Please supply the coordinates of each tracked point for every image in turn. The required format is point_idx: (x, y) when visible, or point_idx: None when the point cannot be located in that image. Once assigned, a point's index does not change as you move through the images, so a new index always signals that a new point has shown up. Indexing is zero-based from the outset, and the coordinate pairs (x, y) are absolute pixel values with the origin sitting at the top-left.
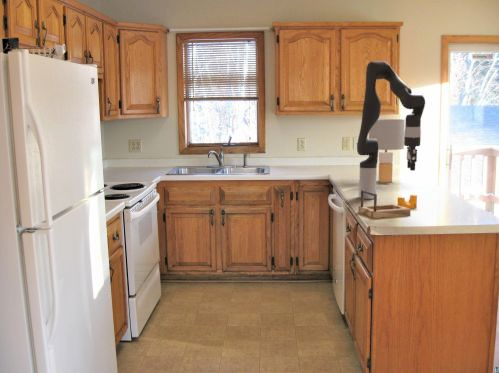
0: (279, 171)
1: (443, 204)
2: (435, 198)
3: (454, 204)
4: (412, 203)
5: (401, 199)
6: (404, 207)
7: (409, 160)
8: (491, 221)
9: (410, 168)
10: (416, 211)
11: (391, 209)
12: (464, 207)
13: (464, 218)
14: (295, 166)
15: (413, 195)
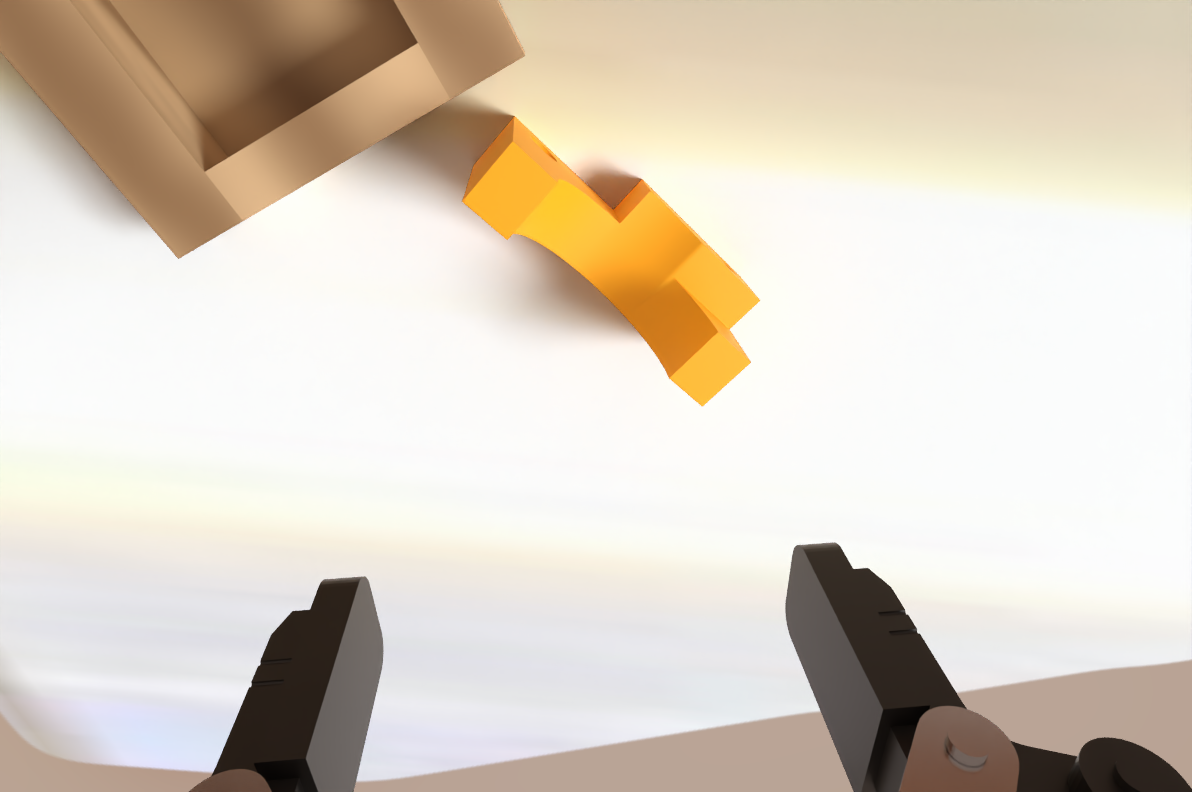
0: None
1: None
2: (1113, 536)
3: None
4: (629, 317)
5: (470, 189)
6: (263, 194)
7: (886, 753)
8: (192, 759)
9: (311, 611)
10: (457, 321)
11: None
12: (694, 676)
13: (238, 639)
14: None
15: (686, 367)
